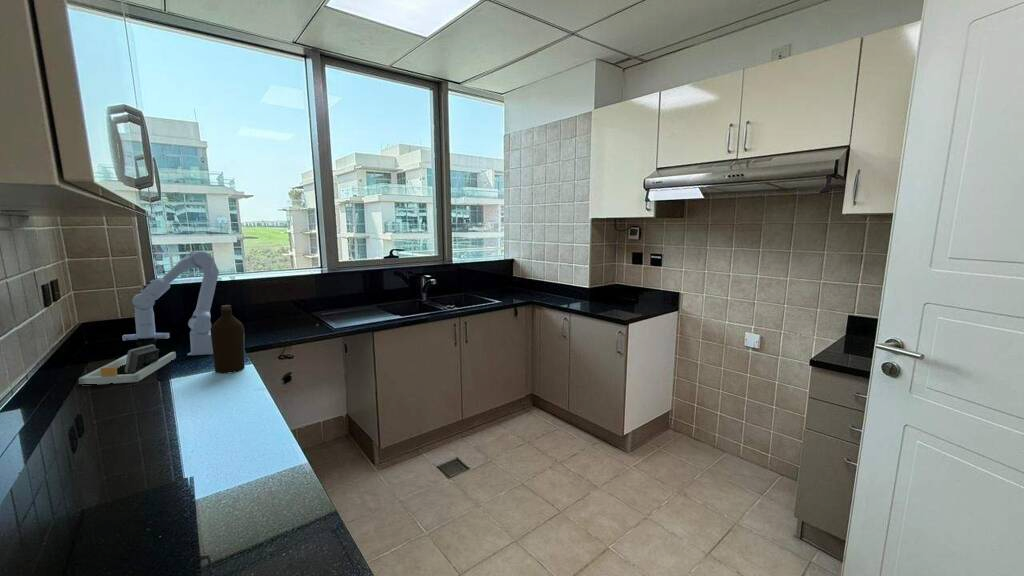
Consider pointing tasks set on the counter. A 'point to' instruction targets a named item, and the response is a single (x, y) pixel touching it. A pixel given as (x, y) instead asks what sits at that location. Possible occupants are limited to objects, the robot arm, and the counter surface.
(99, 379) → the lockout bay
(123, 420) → the counter surface
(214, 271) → the robot arm
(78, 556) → the counter surface
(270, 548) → the counter surface
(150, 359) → the electrical switch
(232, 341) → the olive oil
